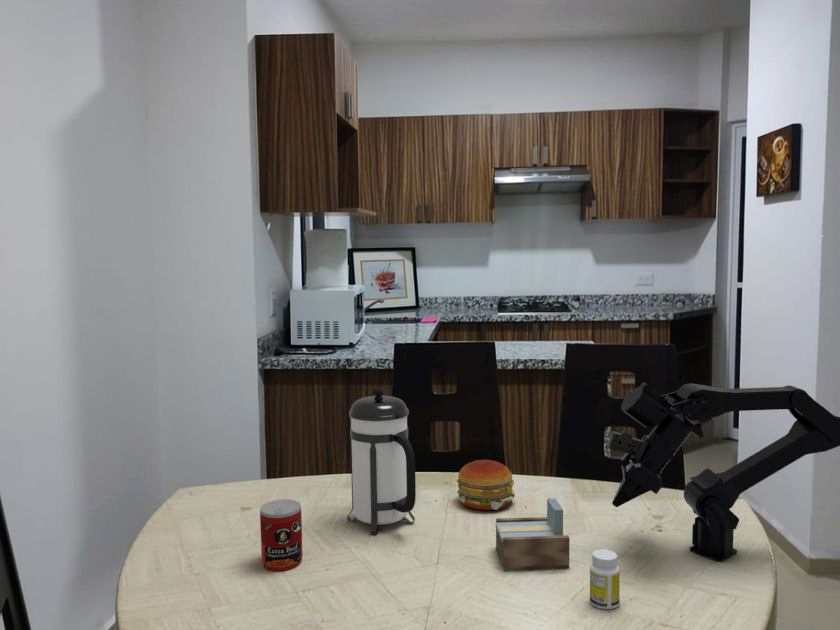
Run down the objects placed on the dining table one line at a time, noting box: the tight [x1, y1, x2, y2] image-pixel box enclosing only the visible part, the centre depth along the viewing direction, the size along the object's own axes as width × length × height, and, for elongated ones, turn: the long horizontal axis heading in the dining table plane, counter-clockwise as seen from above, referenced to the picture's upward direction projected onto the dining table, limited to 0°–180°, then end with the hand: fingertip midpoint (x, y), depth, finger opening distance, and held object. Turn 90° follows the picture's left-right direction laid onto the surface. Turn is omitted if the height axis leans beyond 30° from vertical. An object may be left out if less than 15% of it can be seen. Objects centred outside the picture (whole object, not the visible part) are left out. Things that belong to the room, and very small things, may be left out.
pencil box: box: [495, 516, 570, 572], centre depth 131 cm, size 12×10×6 cm
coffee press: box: [346, 386, 417, 536], centre depth 147 cm, size 17×16×30 cm
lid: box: [495, 497, 564, 543], centre depth 130 cm, size 12×7×6 cm, turn 93°
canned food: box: [259, 498, 304, 572], centre depth 130 cm, size 8×8×11 cm
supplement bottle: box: [589, 548, 621, 610], centre depth 114 cm, size 5×5×8 cm
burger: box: [456, 459, 516, 511], centre depth 160 cm, size 14×14×10 cm
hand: (614, 505), depth 132 cm, fingers closed
